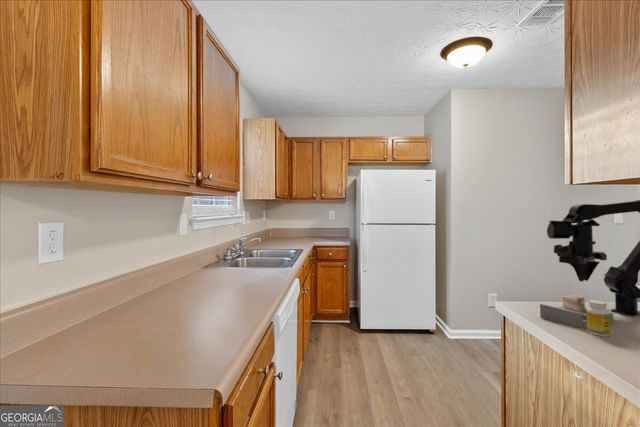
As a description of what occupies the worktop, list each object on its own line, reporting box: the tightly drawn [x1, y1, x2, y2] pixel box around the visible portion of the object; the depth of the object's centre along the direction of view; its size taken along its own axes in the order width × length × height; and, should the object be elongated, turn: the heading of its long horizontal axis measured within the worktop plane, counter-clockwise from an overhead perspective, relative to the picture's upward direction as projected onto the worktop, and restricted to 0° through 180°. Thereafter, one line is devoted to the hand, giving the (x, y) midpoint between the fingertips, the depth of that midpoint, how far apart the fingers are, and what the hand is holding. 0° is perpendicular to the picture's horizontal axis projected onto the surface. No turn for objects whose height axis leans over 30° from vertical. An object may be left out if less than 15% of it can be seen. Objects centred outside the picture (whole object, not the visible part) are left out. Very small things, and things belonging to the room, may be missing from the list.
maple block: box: [562, 294, 586, 311], centre depth 113 cm, size 4×4×4 cm
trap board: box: [539, 303, 614, 329], centre depth 108 cm, size 18×12×4 cm
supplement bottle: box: [586, 299, 612, 337], centre depth 95 cm, size 5×5×10 cm
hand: (583, 280), depth 115 cm, fingers open, 3 cm apart
